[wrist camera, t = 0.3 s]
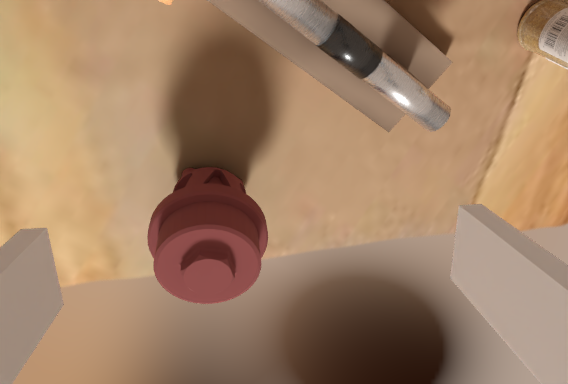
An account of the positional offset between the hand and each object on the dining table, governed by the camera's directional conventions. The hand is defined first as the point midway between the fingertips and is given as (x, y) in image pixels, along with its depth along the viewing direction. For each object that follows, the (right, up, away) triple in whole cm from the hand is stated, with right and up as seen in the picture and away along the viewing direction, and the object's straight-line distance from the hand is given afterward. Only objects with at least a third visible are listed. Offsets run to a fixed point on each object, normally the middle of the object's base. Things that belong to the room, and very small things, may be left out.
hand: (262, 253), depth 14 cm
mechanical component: (-7, +2, +30) cm, 31 cm away
